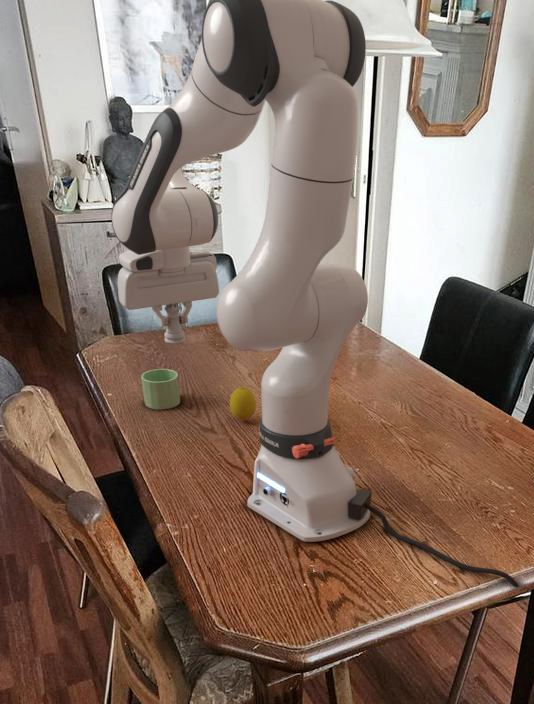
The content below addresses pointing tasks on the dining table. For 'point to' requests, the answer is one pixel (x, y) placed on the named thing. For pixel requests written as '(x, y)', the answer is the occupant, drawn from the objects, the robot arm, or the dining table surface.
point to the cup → (160, 388)
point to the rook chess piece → (174, 326)
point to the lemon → (242, 403)
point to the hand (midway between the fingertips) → (173, 324)
